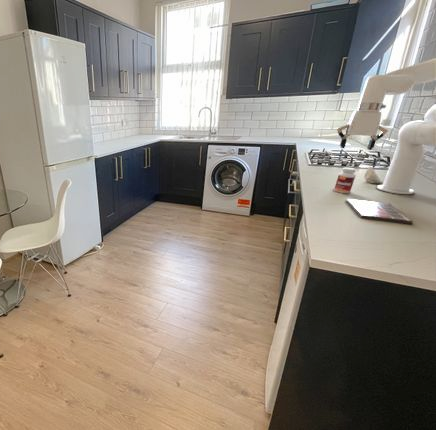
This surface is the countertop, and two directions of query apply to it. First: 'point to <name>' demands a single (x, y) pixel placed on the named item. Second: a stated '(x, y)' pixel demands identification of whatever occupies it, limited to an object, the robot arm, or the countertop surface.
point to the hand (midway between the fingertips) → (355, 148)
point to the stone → (372, 176)
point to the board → (378, 211)
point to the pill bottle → (345, 180)
